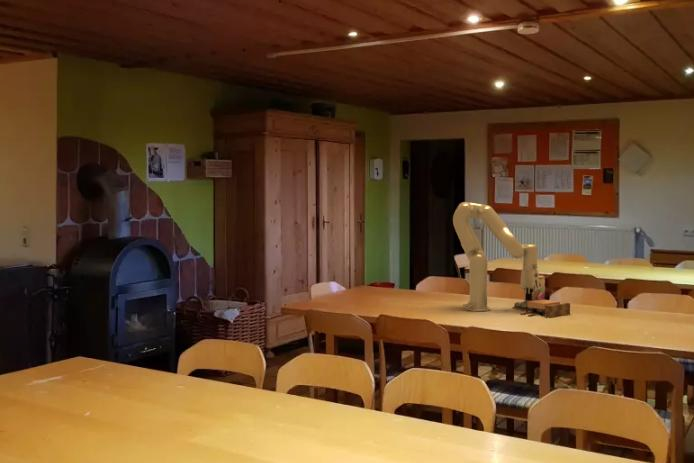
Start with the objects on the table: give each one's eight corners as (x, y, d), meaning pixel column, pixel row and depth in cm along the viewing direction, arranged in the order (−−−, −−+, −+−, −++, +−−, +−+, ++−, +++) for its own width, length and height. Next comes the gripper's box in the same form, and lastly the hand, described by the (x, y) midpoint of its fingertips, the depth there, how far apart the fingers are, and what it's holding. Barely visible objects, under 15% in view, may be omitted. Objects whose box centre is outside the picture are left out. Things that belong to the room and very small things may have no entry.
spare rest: (528, 316, 373) (528, 315, 373) (520, 314, 378) (520, 313, 378) (536, 315, 375) (536, 314, 375) (527, 313, 381) (527, 312, 381)
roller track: (545, 315, 374) (545, 309, 374) (512, 308, 396) (512, 302, 396) (558, 313, 379) (558, 307, 379) (524, 306, 401) (524, 300, 401)
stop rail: (547, 317, 369) (547, 306, 368) (545, 317, 370) (545, 305, 370) (570, 314, 376) (570, 303, 376) (567, 313, 378) (567, 302, 378)
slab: (544, 309, 372) (544, 303, 372) (527, 307, 384) (527, 301, 384) (560, 307, 377) (560, 301, 377) (543, 305, 389) (542, 299, 389)
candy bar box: (525, 305, 405) (525, 276, 404) (524, 304, 410) (524, 275, 409) (545, 305, 404) (545, 276, 403) (543, 304, 409) (544, 275, 408)
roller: (541, 314, 379) (541, 308, 378) (536, 313, 382) (537, 306, 381) (550, 313, 382) (551, 307, 382) (545, 311, 385) (546, 305, 385)
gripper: (545, 268, 384) (543, 302, 386) (525, 265, 397) (524, 297, 399) (534, 269, 381) (533, 303, 382) (515, 265, 394) (513, 298, 395)
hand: (528, 300), depth 390 cm, fingers closed
